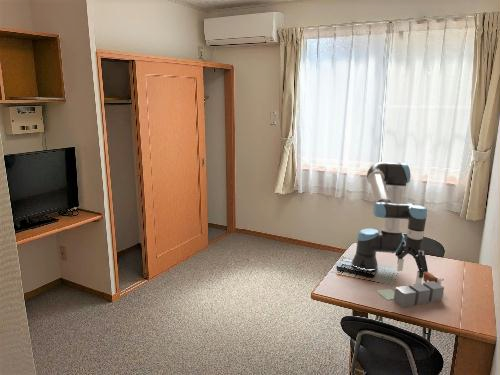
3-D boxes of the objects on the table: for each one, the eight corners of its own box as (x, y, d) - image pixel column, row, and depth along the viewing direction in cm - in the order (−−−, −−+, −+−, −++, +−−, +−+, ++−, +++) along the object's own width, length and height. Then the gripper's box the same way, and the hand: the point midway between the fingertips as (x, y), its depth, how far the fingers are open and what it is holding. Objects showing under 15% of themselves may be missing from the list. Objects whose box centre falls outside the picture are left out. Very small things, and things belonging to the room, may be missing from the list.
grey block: (393, 300, 198) (395, 287, 196) (404, 298, 201) (406, 285, 199) (402, 307, 192) (404, 294, 190) (414, 305, 194) (416, 292, 192)
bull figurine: (437, 293, 206) (439, 280, 204) (420, 282, 219) (422, 268, 217) (444, 293, 208) (446, 279, 206) (426, 281, 220) (429, 268, 218)
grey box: (407, 297, 201) (409, 285, 199) (418, 296, 204) (420, 283, 202) (417, 304, 195) (419, 291, 193) (428, 302, 197) (430, 289, 195)
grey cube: (421, 295, 204) (423, 282, 202) (431, 293, 206) (433, 281, 205) (431, 302, 198) (433, 289, 196) (441, 300, 200) (444, 287, 198)
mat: (376, 291, 206) (376, 291, 206) (390, 289, 209) (390, 288, 209) (387, 300, 198) (387, 299, 198) (401, 297, 201) (401, 297, 201)
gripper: (391, 228, 198) (386, 266, 203) (427, 247, 175) (420, 289, 180) (403, 227, 200) (398, 265, 206) (440, 246, 177) (433, 287, 183)
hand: (408, 276), depth 193 cm, fingers open, 13 cm apart
